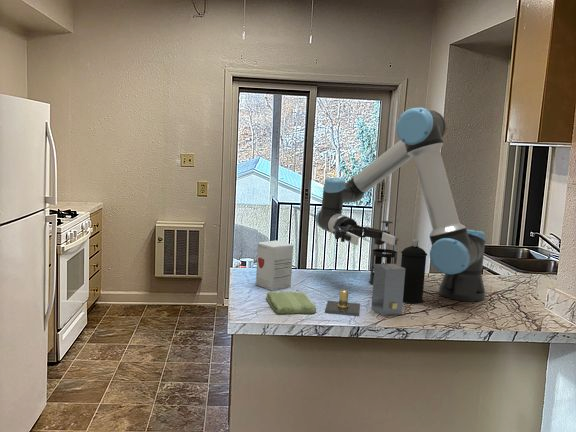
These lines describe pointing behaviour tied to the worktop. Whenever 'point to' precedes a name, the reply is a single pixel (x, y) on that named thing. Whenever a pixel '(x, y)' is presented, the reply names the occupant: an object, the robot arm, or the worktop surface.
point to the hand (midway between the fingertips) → (376, 241)
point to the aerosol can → (413, 273)
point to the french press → (379, 254)
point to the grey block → (388, 289)
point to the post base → (342, 311)
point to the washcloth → (290, 303)
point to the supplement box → (274, 265)
